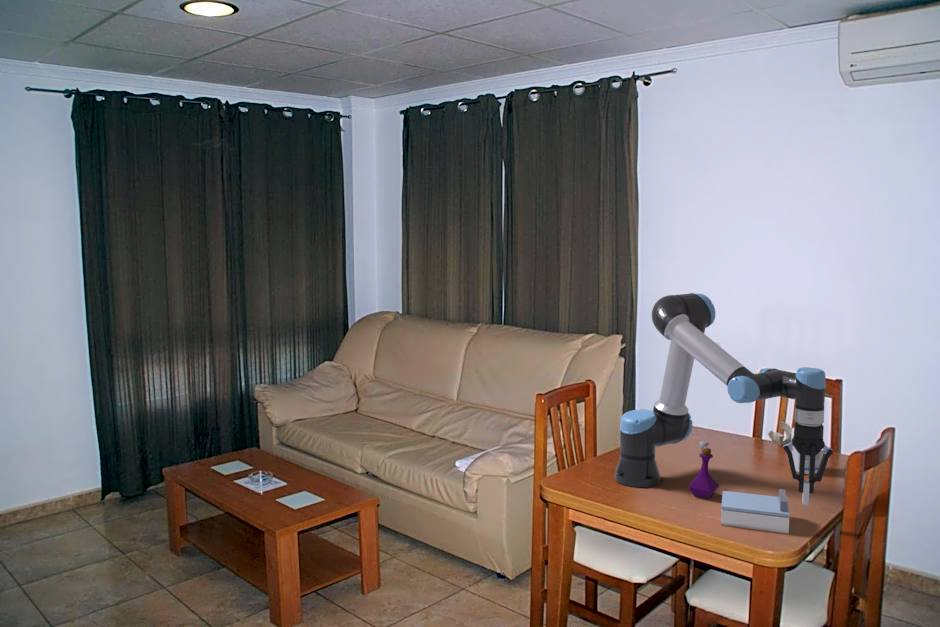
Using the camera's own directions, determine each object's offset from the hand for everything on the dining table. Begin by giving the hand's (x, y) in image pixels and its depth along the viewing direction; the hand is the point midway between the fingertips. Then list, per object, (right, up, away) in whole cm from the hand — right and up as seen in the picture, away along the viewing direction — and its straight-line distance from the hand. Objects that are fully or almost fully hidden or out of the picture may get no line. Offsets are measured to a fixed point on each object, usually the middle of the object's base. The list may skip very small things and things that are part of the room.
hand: (805, 503), depth 205 cm
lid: (-13, -2, +5) cm, 14 cm away
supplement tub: (+22, -1, +47) cm, 52 cm away
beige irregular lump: (+26, +2, +77) cm, 82 cm away
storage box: (-12, -6, +6) cm, 15 cm away
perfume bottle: (-21, -4, +25) cm, 33 cm away
